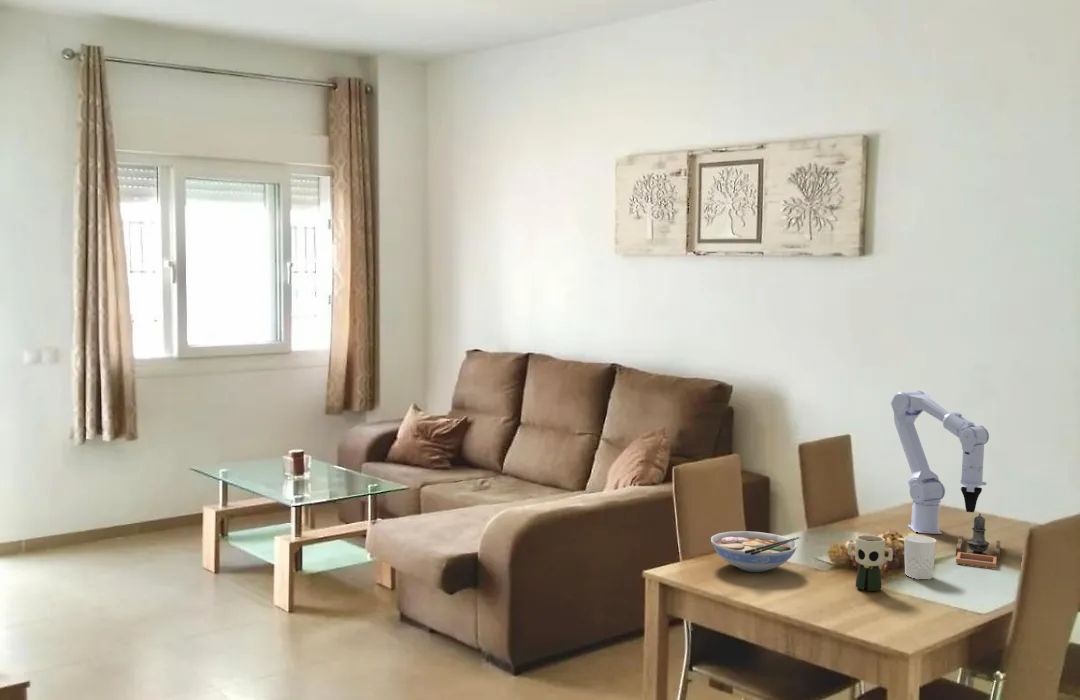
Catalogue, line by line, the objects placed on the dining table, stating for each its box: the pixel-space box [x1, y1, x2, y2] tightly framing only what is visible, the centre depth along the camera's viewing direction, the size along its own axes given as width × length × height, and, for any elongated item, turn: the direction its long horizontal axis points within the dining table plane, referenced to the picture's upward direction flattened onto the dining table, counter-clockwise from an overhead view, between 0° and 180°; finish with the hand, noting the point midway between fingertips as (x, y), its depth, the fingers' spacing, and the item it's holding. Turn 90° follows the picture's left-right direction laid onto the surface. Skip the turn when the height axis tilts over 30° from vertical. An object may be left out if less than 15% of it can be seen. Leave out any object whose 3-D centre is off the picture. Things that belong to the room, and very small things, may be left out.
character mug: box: [847, 534, 894, 592], centre depth 255 cm, size 11×7×13 cm, turn 61°
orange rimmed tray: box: [955, 535, 1001, 562], centre depth 295 cm, size 16×11×2 cm
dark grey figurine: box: [966, 513, 990, 556], centre depth 291 cm, size 6×6×12 cm
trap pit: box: [955, 552, 998, 570], centre depth 282 cm, size 8×10×2 cm
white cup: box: [903, 534, 937, 580], centre depth 268 cm, size 8×8×10 cm
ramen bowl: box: [710, 530, 800, 573], centre depth 272 cm, size 25×23×8 cm
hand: (970, 511), depth 304 cm, fingers closed
